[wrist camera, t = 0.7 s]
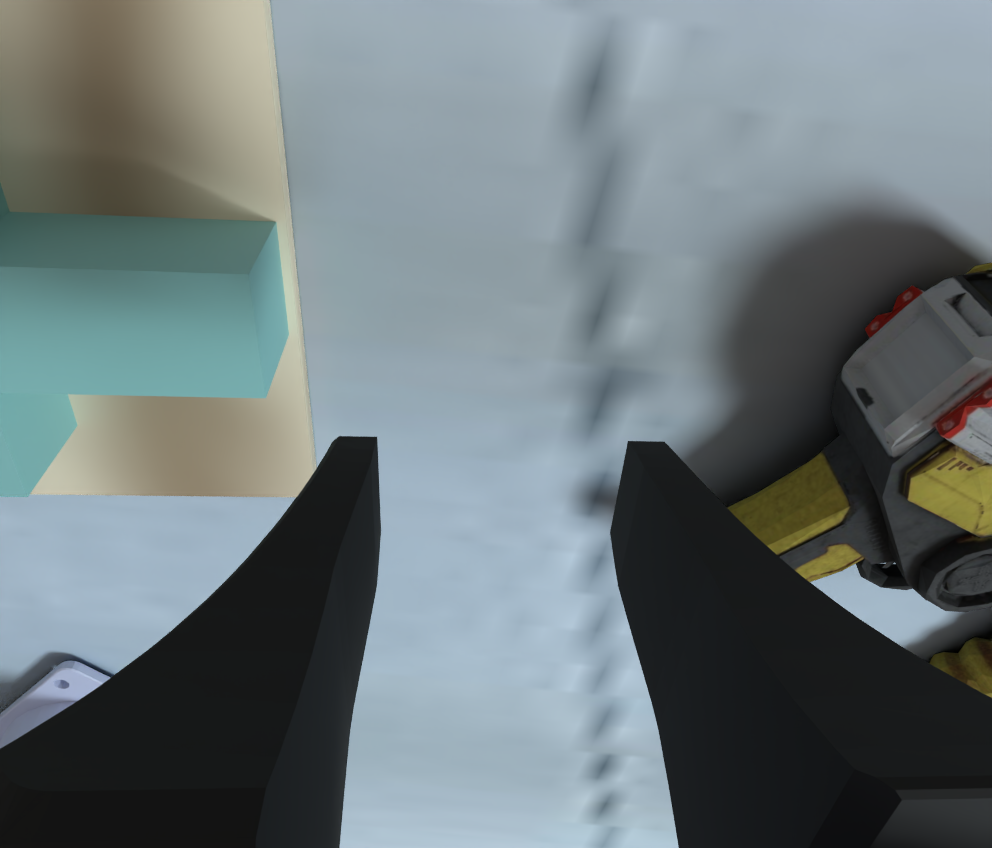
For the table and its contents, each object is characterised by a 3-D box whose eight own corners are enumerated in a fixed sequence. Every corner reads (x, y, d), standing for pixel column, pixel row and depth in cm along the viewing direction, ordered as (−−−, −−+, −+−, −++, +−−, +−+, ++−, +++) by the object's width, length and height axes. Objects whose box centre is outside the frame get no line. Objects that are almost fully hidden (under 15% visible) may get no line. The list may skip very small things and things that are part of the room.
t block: (-37, 423, 21) (-103, 495, 18) (-191, 61, 15) (-311, 93, 13) (299, 429, 21) (279, 499, 19) (260, 84, 16) (226, 119, 14)
